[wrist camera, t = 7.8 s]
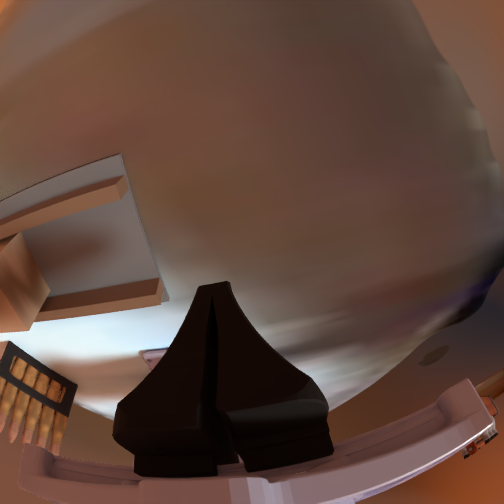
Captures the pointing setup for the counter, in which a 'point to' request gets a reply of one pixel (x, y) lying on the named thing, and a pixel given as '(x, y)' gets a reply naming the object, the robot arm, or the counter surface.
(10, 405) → the ammunition clip
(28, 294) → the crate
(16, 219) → the bay
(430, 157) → the counter surface
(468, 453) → the milk bottle holder
